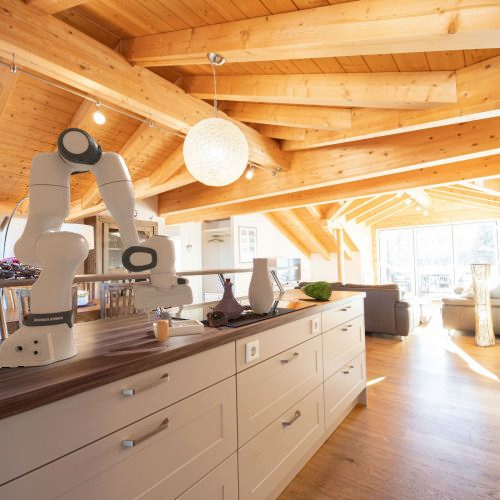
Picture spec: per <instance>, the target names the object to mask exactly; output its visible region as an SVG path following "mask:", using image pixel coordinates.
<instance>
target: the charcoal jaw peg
mask: <svg viewBox="0 0 500 500" xmlns="http://www.w3.org/2000/svg"><path fill="white" fill-rule="evenodd" d="M160 320H169V327H171V322H172V311H169V310H167V311H160Z"/></svg>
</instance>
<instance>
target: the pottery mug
mask: <svg viewBox="0 0 500 500" xmlns="http://www.w3.org/2000/svg"><path fill="white" fill-rule="evenodd" d="M206 318H207V320H208V326H209V327H214V328H215V327H218V326H222V325H225V326H228V325H229V324H228V322H229V321H228V320H227V319H226V318H228V316H227V315H226V313H225V312H224V311H221V310H216V311H213V310H212V311H211V312H210V311H209V312H207V314H206Z"/></svg>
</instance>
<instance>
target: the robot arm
mask: <svg viewBox="0 0 500 500" xmlns="http://www.w3.org/2000/svg"><path fill="white" fill-rule="evenodd" d="M56 146H57V150H55V151H53V152H47V151H46V152H45V151H44V152H39V153H37V154H35V155H33V157H32V159H31V163H30V167H29V168H30V169H29V174H28V175H29V176H28V198H29V199H28V201H29V202H28V204H29V205H28V215H27V218H26V219H27V220H26V223H25V225H24V228H23V231H22V234H21V236H20V237H19V238H18V239H17V240H16V242H15V243H14V245H13V254H14V255H13V256H14V257H15V258H16V260H17V261H18V262H19V263H20V264H22V265H26V266H29V267H32V268H33V267H34V268H41V270H40V272H39V276H38V278H37V280H36V281H35V282H34V283H33V284H31V287H30V291H29V292H30V293H29V294H30V295H29V296H30V307H29V310H30V312H26V313H25V314H24V315H22V317H21V322H22V326H20V327H19V328H18V329H17V330H15V331H14V332H13V333H12V334H10V335H9V336H7V338H5V339H4V340H3V341H2V342H1V344H0V369H3V368H2V367H10V368H19V367H18V366H24V367H36V366H39V367H40V366H47V365H50V364H53V363H56V362H59V361H63V360H66V359H67V360H68V359H69V358H72V357H74V356H75V355H77V354H78V350H77V346H76V344H75V343H76V342H75V339H74V332H73V327H74V316H75V315H74V310H73V308H72V303H73V302H72V299H73V297H72V296H73V295H72V294H73V283H74V279H75V277H76V273H77V271H78V269H79V267H80V265H82V263H84V261H85V260H86V259H87V258H88V256H89V253H90V252H89V251H90V245H89V242H88V240H87V239H86V238H85V236H84V235H83V234H81V233H78V232H73V231H66V230H62V231H61V229H62V226H63V223H64V222H65V220H66V219H67V218H68V217H69V216H70V213H71V187H70V184H71V183H70V179H71V176H75V175H76V176H77V175H80V174H85V173H89V172H91V174H93V176H94V178H95V181H96V186H97V189H98V192H99V194H100V196H101V197H100V198H101V200H102V202H103V204H104V206H105V208H106V209H107V211H108V213H109V214H110V215H111V217H112V219H113V220H114V222H115V224H116V227H117V229H118V233H119V237H120V240H121V244H122V254H121V263H122V266H123V268H124V269H125V270H127V272H130V273H134V274H138V273H142V272H144V271H149V272H150V273H149V274H150V275H149V278H150V281H139V282H136V283H135V284H133V285H132V294H133V295H134V299H133V300H134V302H133V304H134V305H133V307H134V308H135V309H136V310H143V309H144V312H145V314H146V315H147V316H148V322H153V321H154V315H153V314H151V313H150V309H156V308H166V307H168V308H169V307H178V308H179V309H178V311H177V312H175V318H176V319H181V314H182V311H183V309H184V306H189V305H192V304H193V302H194V296H193V290H192V288H191V286H190V285H189V283H190V279H189V278H187V277H185V276H181V275H177V272H176V267H175V263H176V250H175V249H176V248H175V243H174V240H173V239H172V238H171V237H169V236H166V235H161V234H153V235H151V236H150V237H148V238H146V239H145V240H143V241H141V240H140V237H139V232H138V229H137V226H136V220H135V208H136V195H135V194H136V193H135V189H134V183H133V181H132V177H131V174H130V172H129V169H128V167H127V165H126V162H125V160H124V158H123V157H122V156H121V155H120V154H119V153H117V152H114V151H103V147H102V146H101V145H100V144H99V143H98V142H97V141H96V140H95V138H94V137H93V136H92V135H91V134H89V132H87V131H85V130H83V129H82V128H78V127H69V128H66V129H65V130H63V131H62V132H61V133H59V135H58V137H57V142H56Z"/></svg>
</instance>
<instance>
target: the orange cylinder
mask: <svg viewBox="0 0 500 500" xmlns="http://www.w3.org/2000/svg"><path fill="white" fill-rule="evenodd" d="M156 323H157V337H156V341H157V342H160V343H161V342H162V343H163V342H168V341H169V340H170V338H169V337H170V336H169V320H161V319H158V320H157V321H156Z"/></svg>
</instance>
